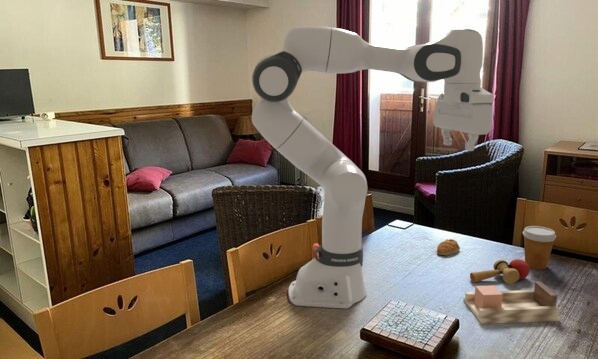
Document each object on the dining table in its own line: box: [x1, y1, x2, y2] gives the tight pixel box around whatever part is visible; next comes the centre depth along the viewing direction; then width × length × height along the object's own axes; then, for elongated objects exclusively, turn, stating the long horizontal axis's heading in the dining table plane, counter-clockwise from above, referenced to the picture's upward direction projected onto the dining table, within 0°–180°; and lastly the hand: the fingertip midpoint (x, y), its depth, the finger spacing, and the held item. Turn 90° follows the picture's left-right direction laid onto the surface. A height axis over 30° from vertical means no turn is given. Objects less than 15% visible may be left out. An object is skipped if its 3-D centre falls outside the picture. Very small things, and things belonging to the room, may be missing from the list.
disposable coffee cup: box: [522, 225, 557, 270], centre depth 147 cm, size 10×10×12 cm
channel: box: [463, 281, 561, 325], centre depth 120 cm, size 20×12×6 cm, turn 92°
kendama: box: [469, 258, 531, 285], centre depth 138 cm, size 8×6×18 cm
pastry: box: [436, 238, 461, 257], centre depth 160 cm, size 9×7×4 cm
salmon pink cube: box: [474, 284, 503, 309], centre depth 120 cm, size 5×5×5 cm
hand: (458, 147), depth 121 cm, fingers open, 8 cm apart
